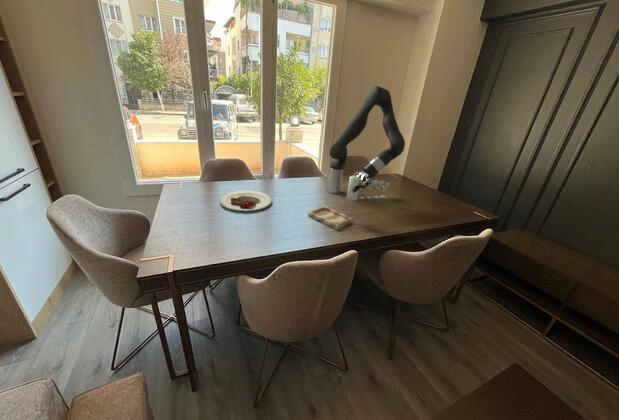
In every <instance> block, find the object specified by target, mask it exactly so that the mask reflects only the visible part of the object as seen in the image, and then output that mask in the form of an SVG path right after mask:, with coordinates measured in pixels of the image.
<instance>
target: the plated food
mask: <svg viewBox="0 0 619 420" xmlns="http://www.w3.org/2000/svg"><path fill="white" fill-rule="evenodd" d="M219 202H220V205H222V206H223V207H224V208H226V209H228V210H229V209H230V210H233V211H240V212H250V211H251V212H252V211H258V210H262V209H265V208H266V207H269V206H270V205H271V204H272V202H273V199H272V197H271V196H270V195H269V194H267V193H264V192H261V191H256V190H249V189H248V190H236V191H232V192H229V193H225V194H224V195H223V196H221V198H220V200H219Z"/></svg>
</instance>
